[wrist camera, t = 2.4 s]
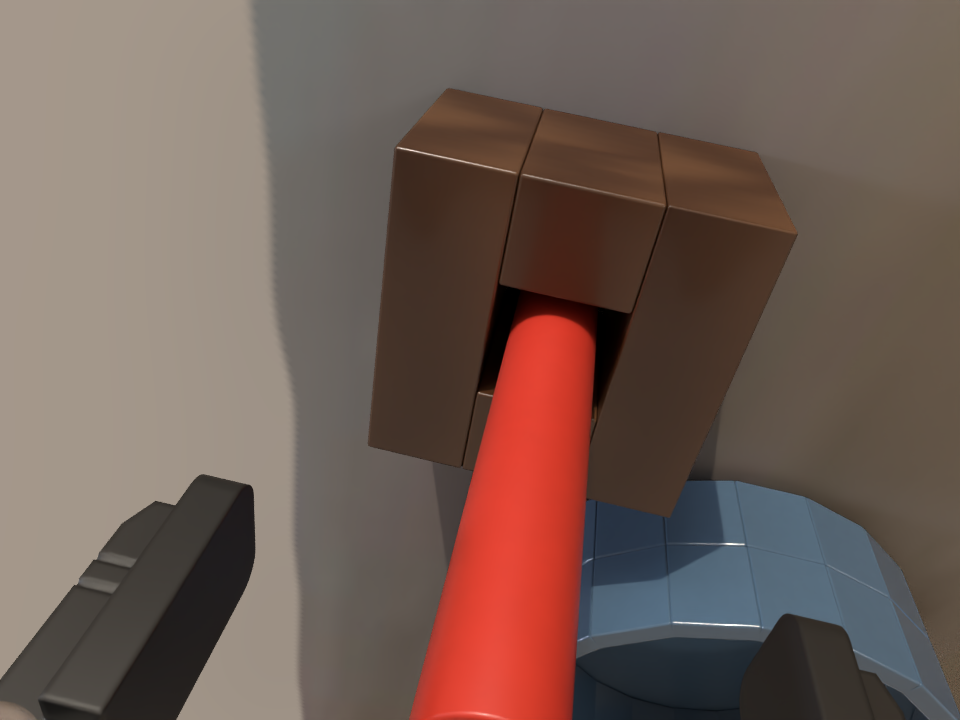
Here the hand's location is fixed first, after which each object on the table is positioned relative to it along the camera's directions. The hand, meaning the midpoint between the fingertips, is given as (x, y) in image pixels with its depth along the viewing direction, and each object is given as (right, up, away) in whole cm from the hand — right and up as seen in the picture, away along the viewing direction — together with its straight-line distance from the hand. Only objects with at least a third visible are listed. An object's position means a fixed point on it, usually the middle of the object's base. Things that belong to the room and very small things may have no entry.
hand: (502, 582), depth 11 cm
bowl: (+8, -6, +16) cm, 19 cm away
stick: (+2, +6, +9) cm, 11 cm away
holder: (+2, +6, +9) cm, 11 cm away
